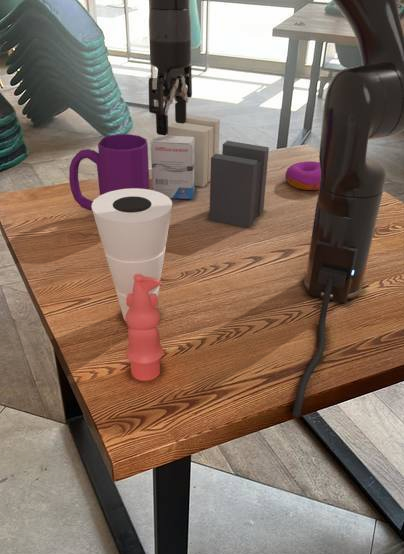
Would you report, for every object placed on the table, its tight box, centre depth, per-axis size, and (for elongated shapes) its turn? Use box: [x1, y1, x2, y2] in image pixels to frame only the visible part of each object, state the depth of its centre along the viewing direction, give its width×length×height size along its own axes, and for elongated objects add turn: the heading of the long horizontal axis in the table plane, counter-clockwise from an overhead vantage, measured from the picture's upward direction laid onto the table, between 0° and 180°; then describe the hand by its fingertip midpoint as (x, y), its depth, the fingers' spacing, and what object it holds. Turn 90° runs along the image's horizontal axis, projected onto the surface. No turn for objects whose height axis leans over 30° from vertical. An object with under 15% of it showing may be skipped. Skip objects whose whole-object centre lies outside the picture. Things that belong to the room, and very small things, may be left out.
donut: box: [284, 160, 321, 191], centre depth 126 cm, size 10×10×5 cm
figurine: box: [124, 274, 164, 382], centre depth 73 cm, size 5×5×15 cm
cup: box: [91, 188, 173, 322], centre depth 82 cm, size 11×11×18 cm
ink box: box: [150, 134, 195, 200], centre depth 119 cm, size 8×5×12 cm, turn 84°
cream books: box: [166, 113, 221, 188], centre depth 127 cm, size 8×9×12 cm
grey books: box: [208, 140, 270, 229], centre depth 111 cm, size 8×9×13 cm
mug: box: [68, 133, 151, 212], centre depth 109 cm, size 9×16×15 cm, turn 83°
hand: (171, 128), depth 114 cm, fingers open, 8 cm apart
